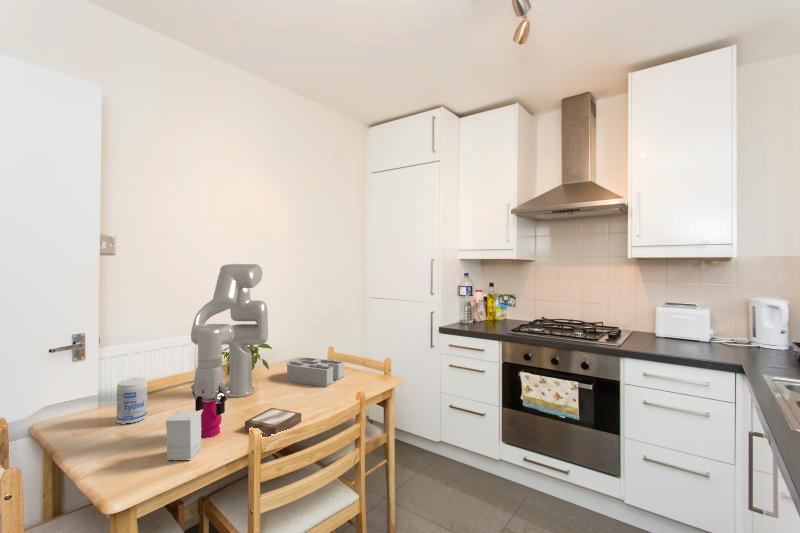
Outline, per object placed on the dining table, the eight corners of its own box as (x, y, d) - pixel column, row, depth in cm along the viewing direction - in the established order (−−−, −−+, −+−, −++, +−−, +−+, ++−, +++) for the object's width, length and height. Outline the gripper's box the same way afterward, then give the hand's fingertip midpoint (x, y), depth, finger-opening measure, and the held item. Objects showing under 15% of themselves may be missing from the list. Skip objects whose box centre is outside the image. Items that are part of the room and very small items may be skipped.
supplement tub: (124, 427, 140) (124, 387, 140) (111, 421, 145) (111, 383, 145) (152, 417, 149) (152, 380, 149) (139, 413, 154) (139, 376, 153)
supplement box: (202, 449, 125) (202, 410, 124) (190, 461, 117) (190, 420, 117) (178, 449, 124) (178, 410, 124) (165, 461, 117) (165, 420, 117)
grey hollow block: (326, 388, 185) (326, 370, 185) (279, 380, 196) (279, 363, 196) (344, 378, 201) (344, 361, 200) (300, 372, 211) (300, 356, 211)
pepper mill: (212, 439, 131) (212, 381, 131) (193, 437, 133) (193, 379, 132) (226, 430, 138) (225, 374, 138) (208, 428, 140) (208, 373, 139)
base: (244, 430, 139) (244, 420, 138) (271, 415, 151) (271, 407, 151) (276, 437, 133) (276, 427, 133) (301, 421, 146) (301, 412, 146)
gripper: (182, 363, 135) (182, 411, 135) (219, 368, 128) (219, 419, 128) (201, 358, 142) (201, 404, 142) (237, 363, 135) (237, 411, 135)
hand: (210, 411), depth 135 cm, fingers open, 9 cm apart
